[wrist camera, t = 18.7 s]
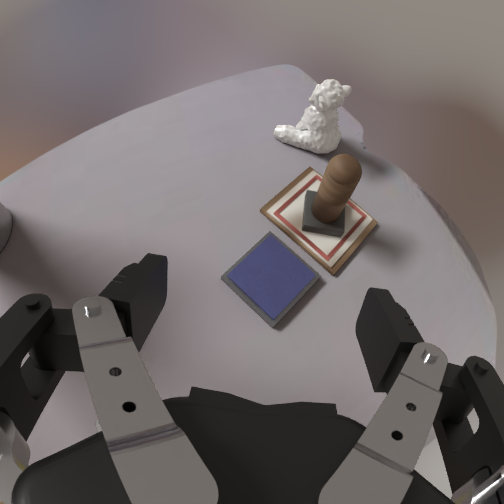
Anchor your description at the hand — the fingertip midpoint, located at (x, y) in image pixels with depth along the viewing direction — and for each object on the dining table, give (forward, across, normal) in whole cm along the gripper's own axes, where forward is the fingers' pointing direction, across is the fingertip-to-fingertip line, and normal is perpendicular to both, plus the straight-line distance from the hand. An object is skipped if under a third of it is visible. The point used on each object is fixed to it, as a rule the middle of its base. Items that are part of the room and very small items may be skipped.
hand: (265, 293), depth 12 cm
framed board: (+28, -7, +4) cm, 29 cm away
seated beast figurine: (+38, -6, -5) cm, 39 cm away
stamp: (+28, -7, +4) cm, 29 cm away
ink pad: (+22, -2, +11) cm, 24 cm away
